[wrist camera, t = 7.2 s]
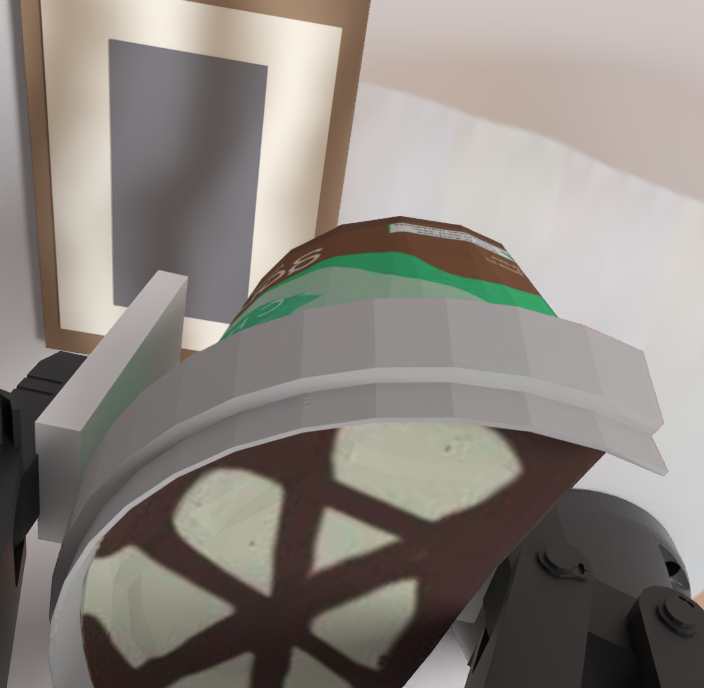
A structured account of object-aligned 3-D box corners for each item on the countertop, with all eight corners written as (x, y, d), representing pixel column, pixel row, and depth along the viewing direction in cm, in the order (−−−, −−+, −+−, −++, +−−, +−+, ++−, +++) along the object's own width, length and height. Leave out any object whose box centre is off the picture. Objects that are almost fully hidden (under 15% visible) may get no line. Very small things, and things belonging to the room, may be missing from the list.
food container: (313, 60, 15) (193, 163, 6) (537, 193, 16) (702, 440, 7) (131, 438, 21) (-69, 777, 12) (308, 518, 22) (246, 883, 13)
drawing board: (371, -7, 29) (370, -8, 28) (313, 381, 38) (311, 393, 37) (26, -68, 28) (11, -71, 27) (53, 339, 38) (43, 349, 37)
